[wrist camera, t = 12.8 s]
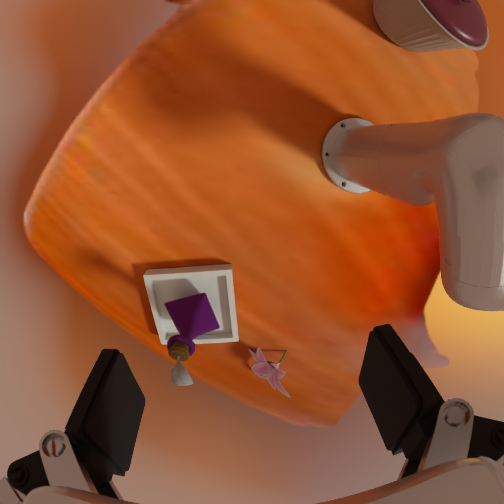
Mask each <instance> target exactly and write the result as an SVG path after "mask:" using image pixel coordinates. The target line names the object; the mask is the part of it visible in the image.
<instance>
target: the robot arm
mask: <svg viewBox="0 0 504 504" xmlns="http://www.w3.org/2000/svg"><path fill="white" fill-rule="evenodd" d="M341 125H342V127H341ZM326 153H327V156H326V155H325V154H326ZM321 157H322V163H323V166H324V169H325V171H326V173H327V175H328V177H329V178H330V179H331V180H332V182H333V183H334V184H336V185H337V186H338V187H340V188H342V189H343V190H346V191H348V192H352V193H365V192H369V191H371V190H373V191H376V192H378V193H381V194H384V195H386V196H389V197H391V198H394V199H396V200H399V201H401V202H404V203H406V204H410V205H414V206H424V205H429V204H432V203H434V202H436V208H437V218H438V222H439V237H440V263H441V278H442V283H443V286H444V289H445V291H446V293H447V294H448V295H449V297H450V298H451V299H452V300H454V301H455V302H456V303H458V304H460V305H462V306H464V307H467V308H470V309H474V310H482V311H504V119H503V118H501V117H499V116H496V115H494V114H490V113H479V112H478V113H468V114H463V115H458V116H454V117H450V118H446V119H441V120H435V121H429V122H418V123H399V124H383V125H374V124H373V123H371V122H370V121H367V120H365V119H361V118H349V119H345V120H342V121H339V122H338V123H336V124H335V125H334V126H333V127H331V128H330V130H329V131H328V132H327V134H326V136H325V138H324V141H323V144H322V152H321ZM342 182H343V185H342ZM359 385H360V388H361V390H362V392H363V394H364V397H365V399H366V401H367V403H368V406H369V408H370V410H371V413H372V415H373V417H374V419H375V422H376V424H377V427H378V429H379V432H380V434H381V437H382V439H383V441H384V444H385V446H386V448H387V450H391V451H392V454H393V455H396V454H398V453H401V452H403V453H404V455H405V457H406V460H405V463H404V465H403V467H402V470H401V472H400V474H399V477H398V479H397V481H394V482H392V483H389V484H386V485H383V486H380V487H377V488H374V489H371V490H368V491H364V492H361V493H358V494H355V495H351V496H347V497H343V498H339V499H335V500H331V501H327V502H322V503H317V504H504V422H501V421H496V420H492V419H487V418H483V417H479V416H475V415H474V412H473V409H472V407H471V406H470V404H469V403H468V402H466V401H465V400H462V399H460V398H453V399H449V400H447V401H446V402H445V401H444V400H443V398H442V397H441V395H440V394H439V392H438V391H437V389H436V387H435V386H434V384H433V383H432V381H431V380H430V378H429V377H428V375H427V374H426V373H425V371H424V369H423V368H422V366H421V365H420V364H419V362H418V361H417V359H416V358H415V356H414V355H413V354H412V353H410V352H409V350H408V349H407V347H406V346H405V344H404V343H403V342H402V340H401V339H400V337H399V336H398V335H397V333H396V332H395V331H394V329H393V328H392V327H391V325H390V324H385V325H381V326H376V327H374V329H373V331H371V332H370V334H369V338H368V343H367V347H366V351H365V356H364V360H363V364H362V368H361V372H360V376H359ZM144 406H145V397H144V395H143V393H142V391H141V389H140V387H139V385H138V383H137V382H136V380H135V378H134V376H133V374H132V372H131V370H130V368H129V365H128V363H127V361H126V359H125V357H124V355H123V354H122V353H120V352H119V351H118V350H117V349H103V350H102V352H101V354H100V355H99V357H98V359H97V361H96V363H95V365H94V367H93V369H92V371H91V373H90V375H89V377H88V379H87V381H86V383H85V385H84V387H83V389H82V392H81V394H80V396H79V398H78V400H77V402H76V405H75V406H74V409H73V411H72V413H71V416H70V418H69V420H68V422H67V425H66V427H65V429H66V430H65V432H61V431H59V430H51V431H49V432H47V433H45V434H44V436H43V437H42V438H41V440H40V443H39V450H38V451H36V452H34V453H32V454H30V455H28V456H25V457H23V458H21V459H19V460H16V461H15V462H13V463H11V465H10V466H9V468H8V471H7V476H8V478H6V477H3V478H2V479H1V480H0V504H138V503H133V502H128V501H124V499H123V498H122V497H121V495H120V493H119V491H118V490H117V488H116V486H115V485H114V483H113V481H112V476H113V474H115V475H120V476H125V471H128V470H129V467H130V463H131V459H132V455H133V450H134V446H135V442H136V438H137V433H138V429H139V425H140V422H141V418H142V414H143V410H144Z"/></svg>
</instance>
